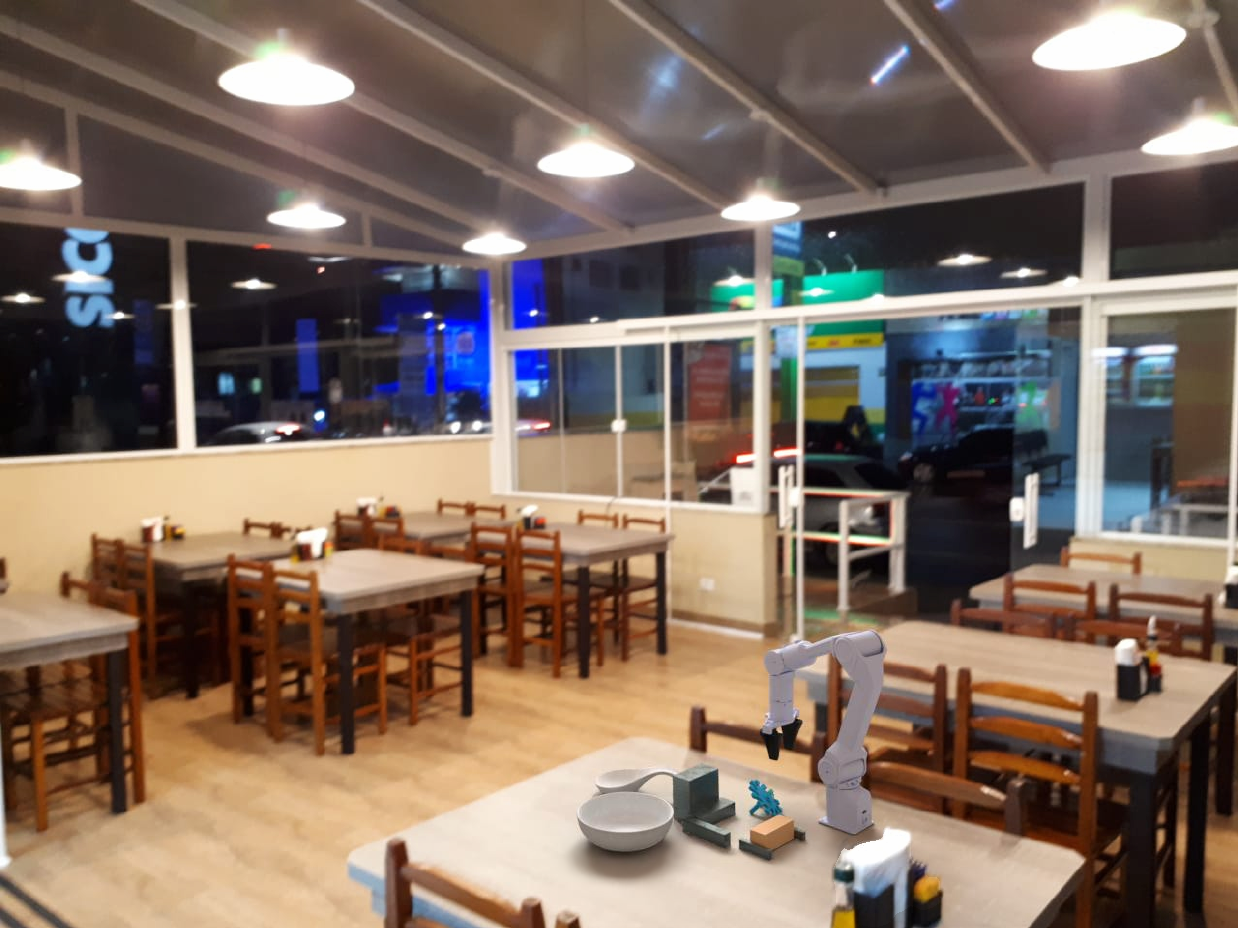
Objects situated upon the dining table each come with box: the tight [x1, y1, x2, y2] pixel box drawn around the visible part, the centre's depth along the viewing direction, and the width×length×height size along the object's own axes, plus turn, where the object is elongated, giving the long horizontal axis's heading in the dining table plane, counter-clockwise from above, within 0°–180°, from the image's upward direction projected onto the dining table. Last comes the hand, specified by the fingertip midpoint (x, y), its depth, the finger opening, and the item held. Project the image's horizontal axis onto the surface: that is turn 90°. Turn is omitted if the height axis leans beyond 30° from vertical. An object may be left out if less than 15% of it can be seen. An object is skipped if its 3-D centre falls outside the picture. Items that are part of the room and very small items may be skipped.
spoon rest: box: [594, 765, 681, 795], centre depth 230 cm, size 24×12×7 cm, turn 75°
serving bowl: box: [576, 791, 674, 852], centre depth 206 cm, size 21×21×7 cm
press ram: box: [749, 814, 795, 851], centre depth 202 cm, size 4×10×4 cm, turn 134°
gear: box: [748, 779, 783, 818], centre depth 217 cm, size 11×6×10 cm
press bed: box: [672, 762, 807, 862], centre depth 208 cm, size 28×15×10 cm, turn 44°
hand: (781, 754), depth 227 cm, fingers open, 7 cm apart
